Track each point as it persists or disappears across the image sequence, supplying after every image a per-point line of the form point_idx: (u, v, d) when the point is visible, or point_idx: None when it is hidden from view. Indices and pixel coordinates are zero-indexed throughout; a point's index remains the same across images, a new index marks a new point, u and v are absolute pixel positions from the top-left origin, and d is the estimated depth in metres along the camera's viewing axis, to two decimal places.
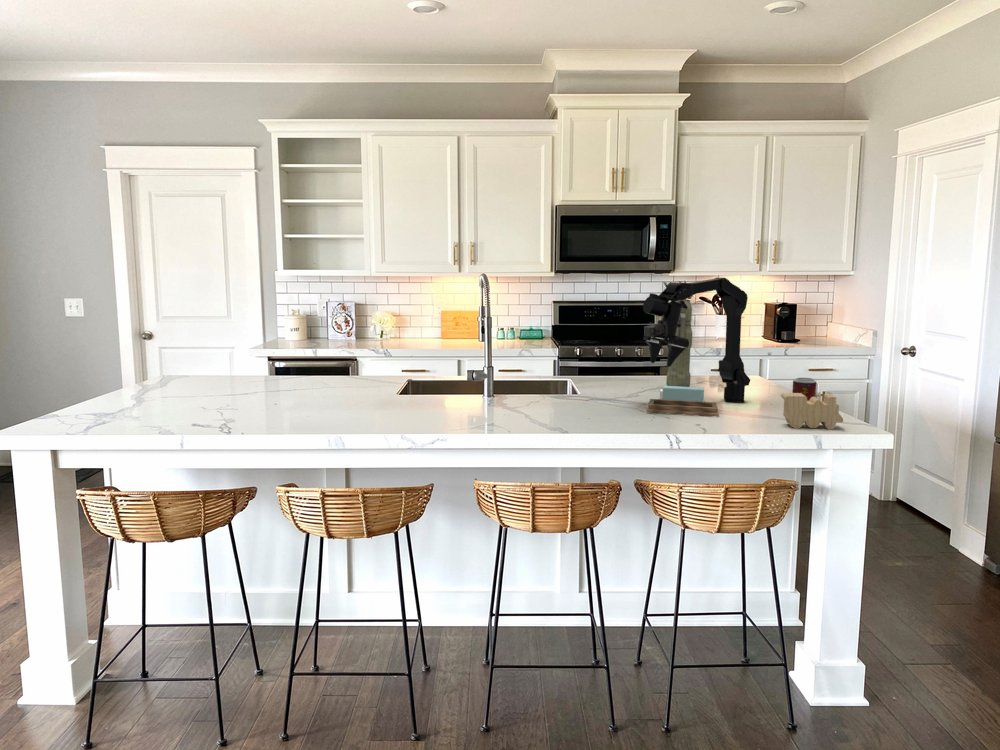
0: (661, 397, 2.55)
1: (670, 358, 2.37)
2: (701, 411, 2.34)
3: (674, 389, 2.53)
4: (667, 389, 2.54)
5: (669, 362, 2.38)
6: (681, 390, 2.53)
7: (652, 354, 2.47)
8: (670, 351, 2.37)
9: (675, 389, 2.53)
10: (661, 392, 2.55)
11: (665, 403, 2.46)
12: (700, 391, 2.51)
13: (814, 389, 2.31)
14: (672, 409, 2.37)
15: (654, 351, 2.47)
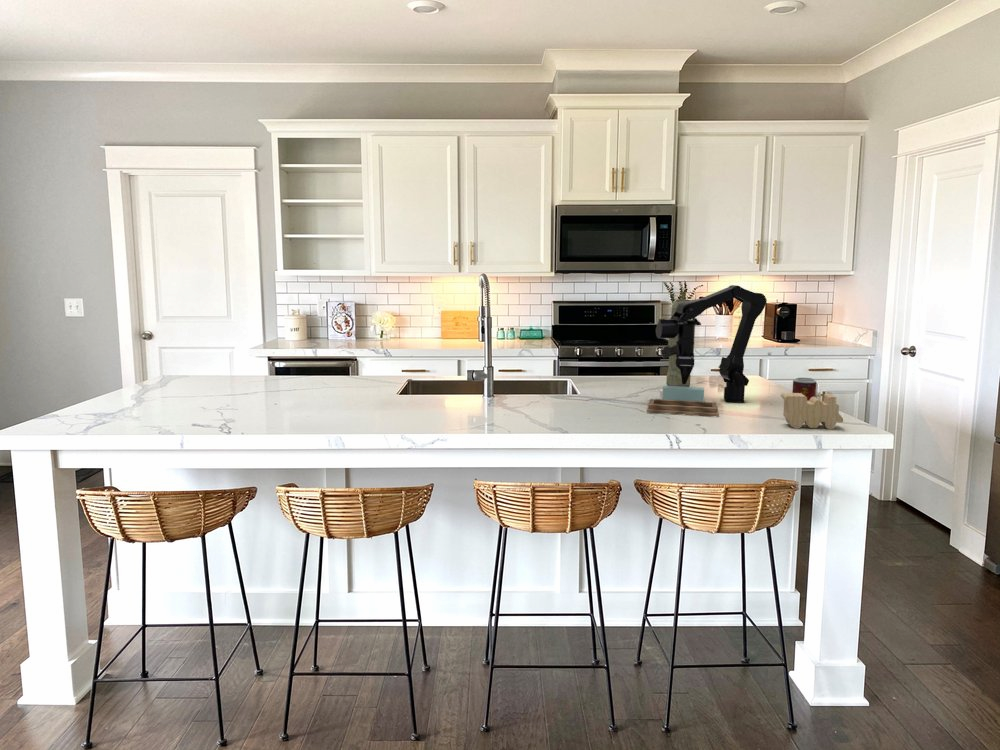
0: (661, 397, 2.55)
1: (682, 376, 2.49)
2: (701, 411, 2.34)
3: (674, 389, 2.53)
4: (667, 389, 2.54)
5: (683, 380, 2.49)
6: (681, 390, 2.53)
7: None
8: (680, 370, 2.48)
9: (675, 389, 2.53)
10: (661, 392, 2.55)
11: (665, 403, 2.46)
12: (700, 391, 2.51)
13: (814, 389, 2.31)
14: (672, 409, 2.37)
15: None
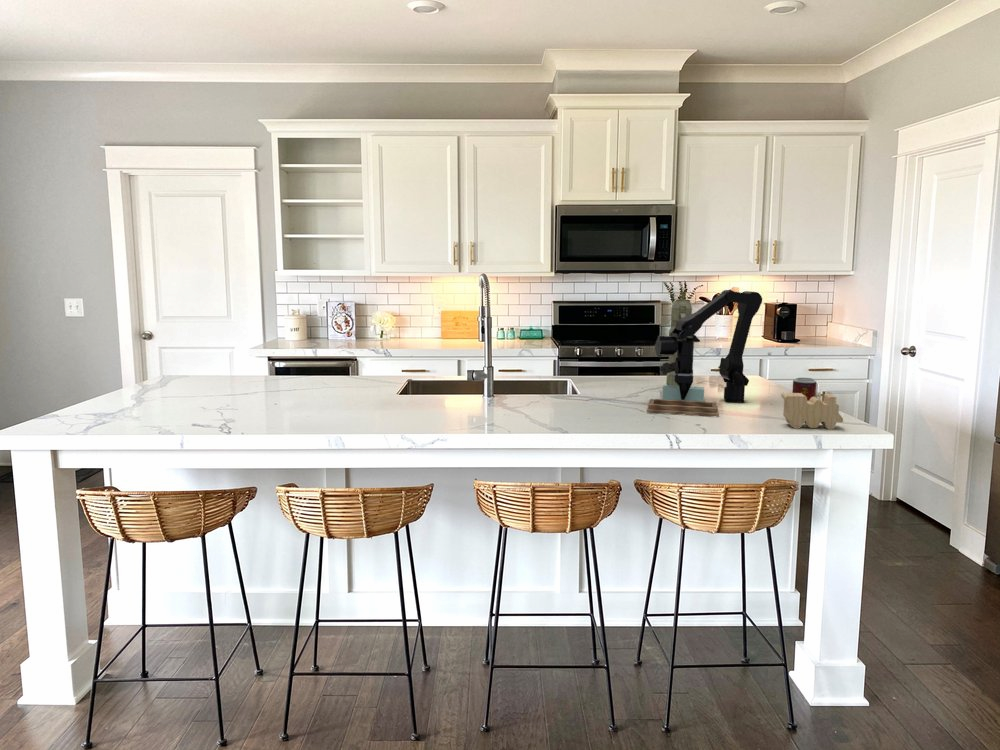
0: (661, 397, 2.55)
1: (681, 392, 2.52)
2: (701, 411, 2.34)
3: (674, 389, 2.53)
4: (667, 389, 2.54)
5: (682, 396, 2.52)
6: None
7: None
8: (679, 386, 2.51)
9: (675, 389, 2.53)
10: (661, 392, 2.55)
11: (665, 403, 2.46)
12: (700, 391, 2.51)
13: (814, 389, 2.31)
14: (672, 409, 2.37)
15: None
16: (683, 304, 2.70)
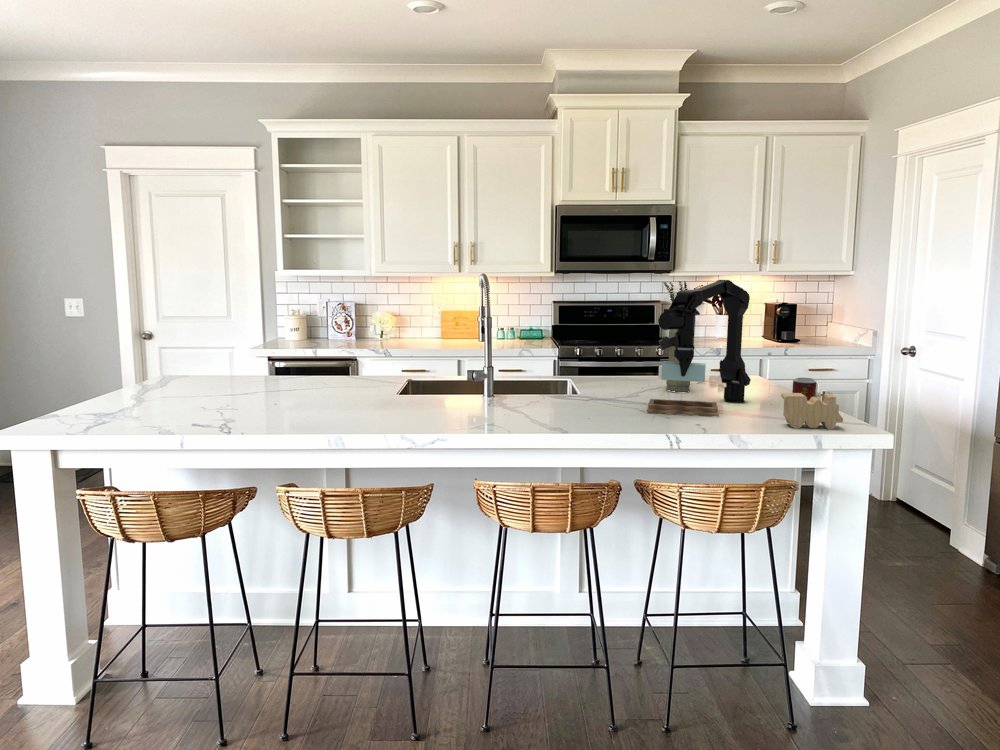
0: (660, 373, 2.42)
1: (681, 368, 2.38)
2: (701, 411, 2.34)
3: (674, 364, 2.40)
4: (666, 364, 2.40)
5: (682, 372, 2.38)
6: None
7: None
8: (679, 361, 2.37)
9: (675, 364, 2.39)
10: (660, 368, 2.41)
11: (665, 403, 2.46)
12: (701, 367, 2.37)
13: (814, 389, 2.31)
14: (672, 409, 2.37)
15: None
16: None
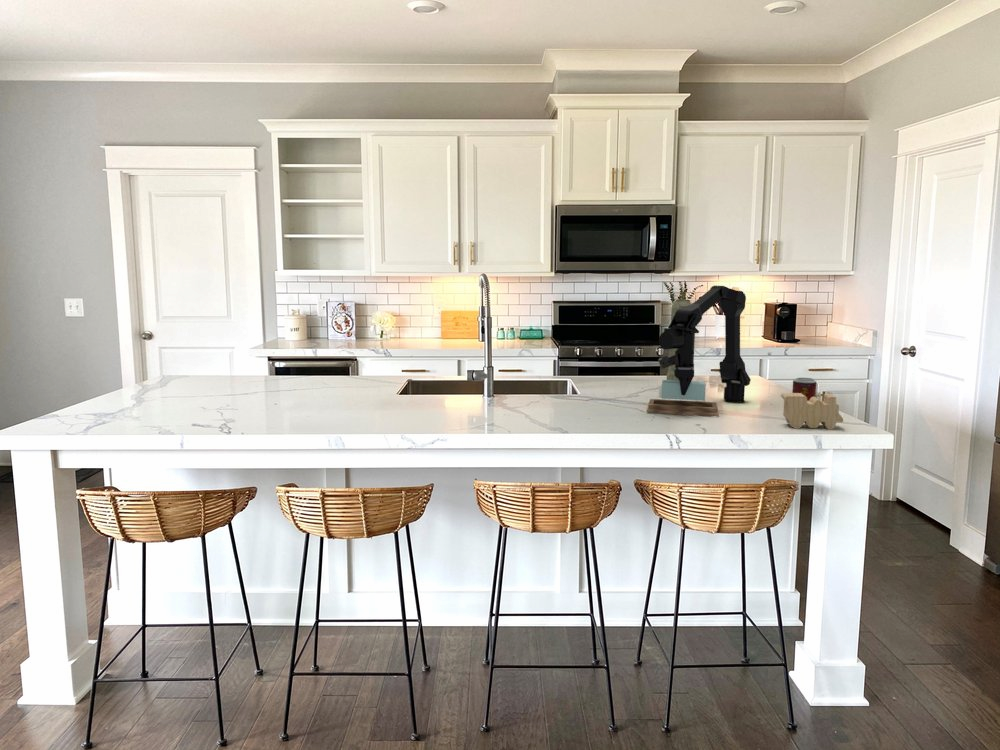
0: (660, 392, 2.40)
1: (681, 387, 2.37)
2: (701, 411, 2.34)
3: (674, 383, 2.38)
4: (666, 383, 2.39)
5: (682, 391, 2.37)
6: None
7: None
8: (679, 380, 2.36)
9: (675, 383, 2.38)
10: (660, 387, 2.40)
11: (665, 403, 2.46)
12: (701, 385, 2.36)
13: (814, 389, 2.31)
14: (672, 409, 2.37)
15: None
16: (683, 304, 2.70)
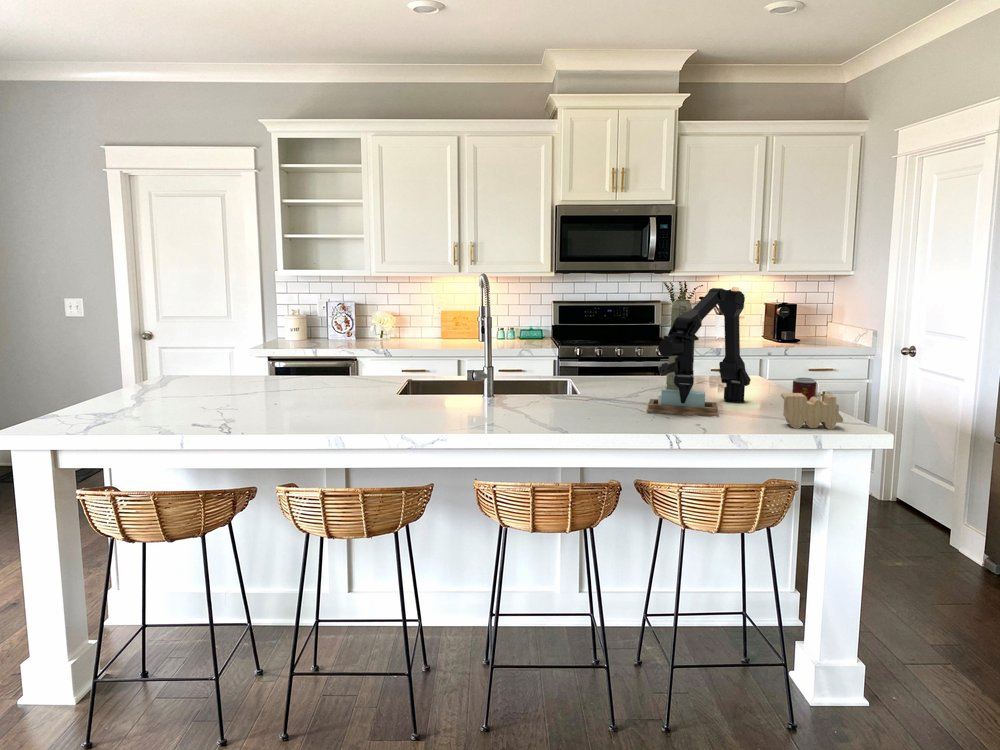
0: (660, 402, 2.41)
1: (681, 395, 2.35)
2: (701, 411, 2.34)
3: (673, 393, 2.39)
4: (666, 393, 2.39)
5: (681, 399, 2.36)
6: None
7: None
8: None
9: (674, 393, 2.39)
10: (660, 396, 2.41)
11: None
12: (701, 395, 2.37)
13: (814, 389, 2.31)
14: (672, 409, 2.37)
15: None
16: (683, 304, 2.70)
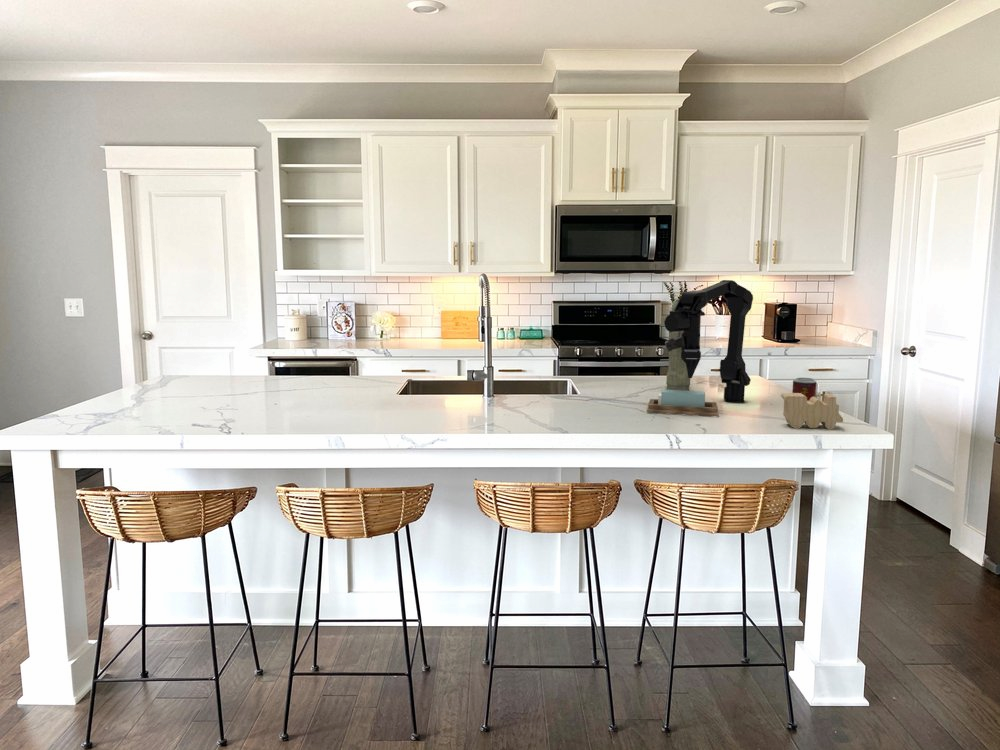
0: (660, 402, 2.41)
1: (688, 370, 2.37)
2: (701, 411, 2.34)
3: (673, 393, 2.39)
4: (666, 393, 2.39)
5: (689, 374, 2.38)
6: (681, 394, 2.38)
7: None
8: (686, 363, 2.37)
9: (674, 393, 2.39)
10: (660, 396, 2.41)
11: None
12: (701, 395, 2.37)
13: (814, 389, 2.31)
14: (672, 409, 2.37)
15: None
16: None
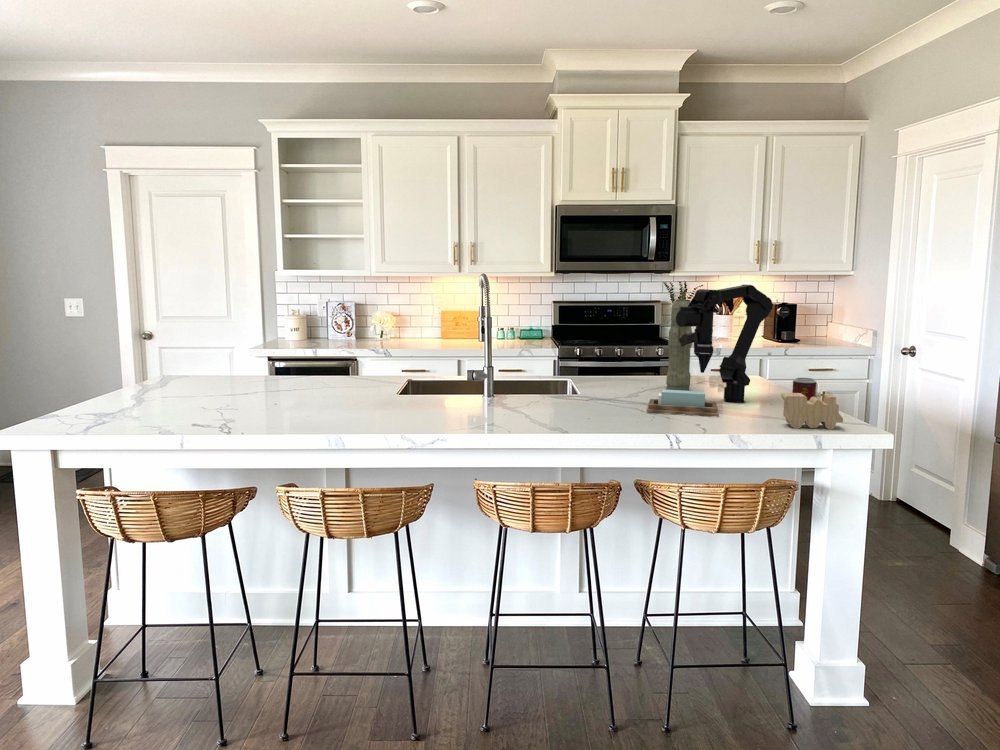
0: (660, 402, 2.41)
1: (700, 365, 2.45)
2: (701, 411, 2.34)
3: (673, 393, 2.39)
4: (666, 393, 2.39)
5: (701, 368, 2.45)
6: (681, 394, 2.38)
7: None
8: None
9: (674, 393, 2.39)
10: (660, 396, 2.41)
11: None
12: (701, 395, 2.37)
13: (814, 389, 2.31)
14: (672, 409, 2.37)
15: None
16: (683, 304, 2.70)
